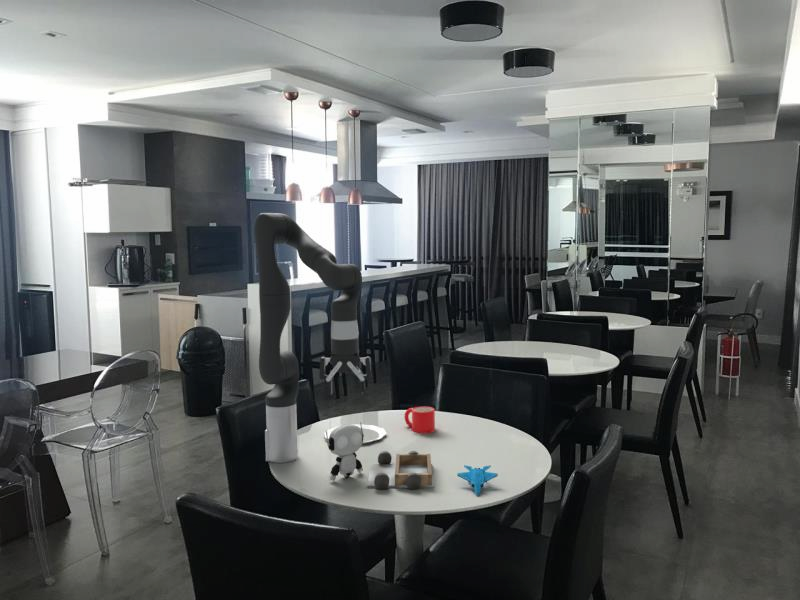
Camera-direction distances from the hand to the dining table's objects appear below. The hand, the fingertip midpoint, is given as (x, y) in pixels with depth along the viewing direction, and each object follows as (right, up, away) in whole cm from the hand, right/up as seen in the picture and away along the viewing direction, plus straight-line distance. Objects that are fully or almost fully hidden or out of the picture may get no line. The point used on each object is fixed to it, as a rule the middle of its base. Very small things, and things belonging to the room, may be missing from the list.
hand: (346, 394), depth 184 cm
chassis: (+15, -24, +3) cm, 28 cm away
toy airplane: (+31, -24, -4) cm, 40 cm away
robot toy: (0, -24, +2) cm, 24 cm away
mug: (+21, -20, +47) cm, 55 cm away
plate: (0, -21, +40) cm, 45 cm away
